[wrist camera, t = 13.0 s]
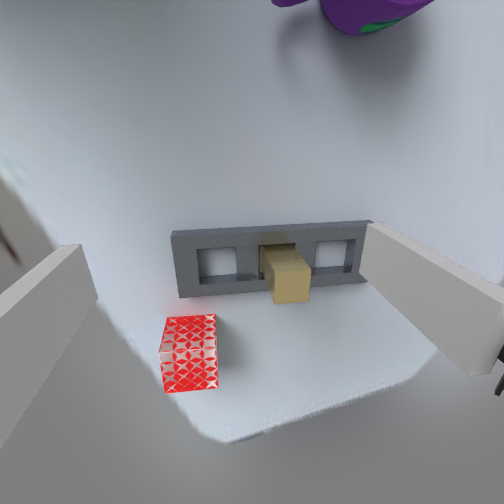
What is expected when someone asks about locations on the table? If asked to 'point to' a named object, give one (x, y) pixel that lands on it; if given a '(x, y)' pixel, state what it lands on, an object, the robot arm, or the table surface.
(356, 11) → the mug
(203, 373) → the red patterned cube
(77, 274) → the robot arm
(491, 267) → the table surface
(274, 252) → the brass peg
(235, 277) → the rail
